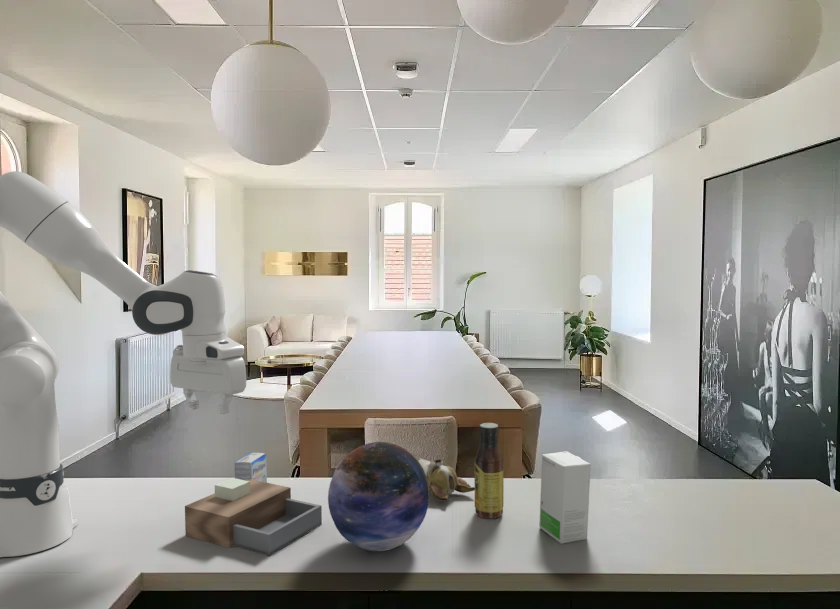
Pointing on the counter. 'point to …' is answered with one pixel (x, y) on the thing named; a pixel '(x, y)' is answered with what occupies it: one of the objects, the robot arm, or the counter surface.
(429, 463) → the ceramic sculpture
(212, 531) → the wooden drawer casing
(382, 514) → the decorative sphere
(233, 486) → the tile
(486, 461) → the sauce bottle
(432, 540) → the counter surface
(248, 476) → the medicine box
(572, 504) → the skincare box
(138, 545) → the counter surface
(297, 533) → the bin
